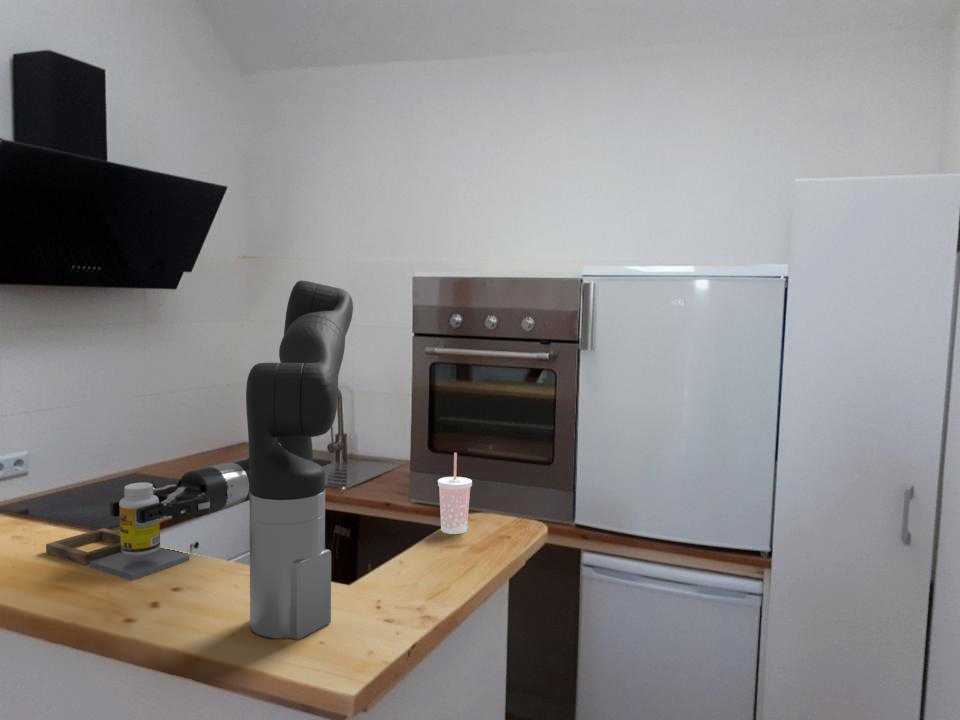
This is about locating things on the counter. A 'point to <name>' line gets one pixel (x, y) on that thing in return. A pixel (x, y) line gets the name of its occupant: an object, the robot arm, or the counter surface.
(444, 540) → the counter surface
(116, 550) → the pocket frame
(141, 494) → the supplement bottle
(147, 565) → the slate coaster
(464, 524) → the beverage cup
